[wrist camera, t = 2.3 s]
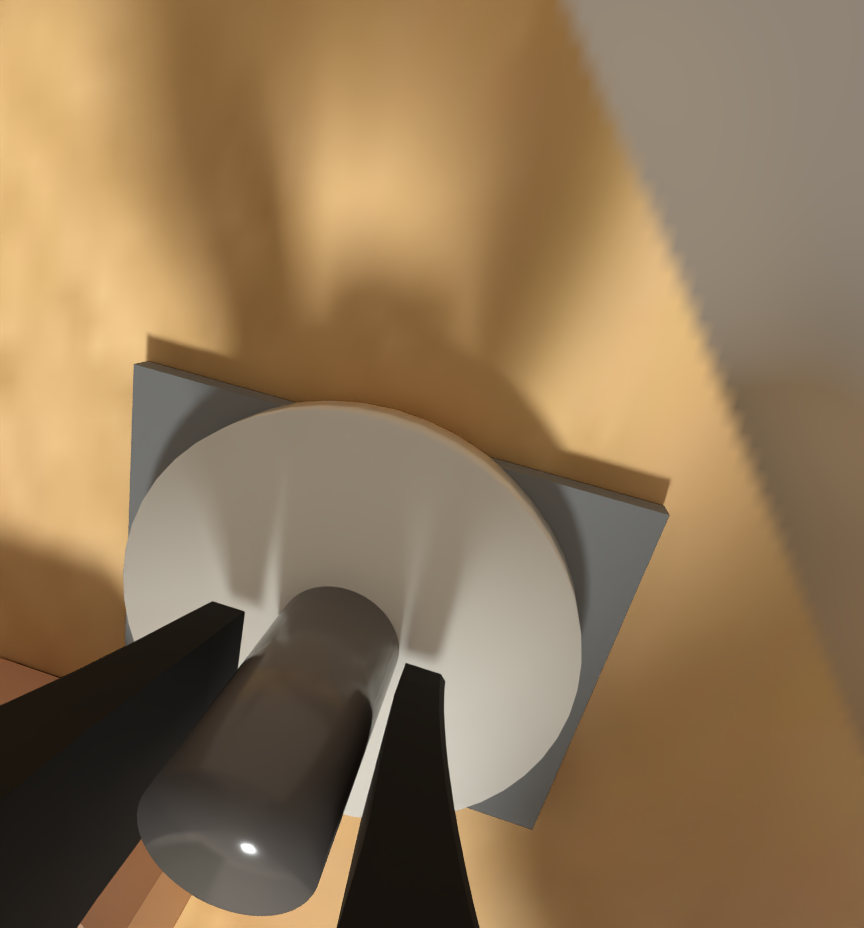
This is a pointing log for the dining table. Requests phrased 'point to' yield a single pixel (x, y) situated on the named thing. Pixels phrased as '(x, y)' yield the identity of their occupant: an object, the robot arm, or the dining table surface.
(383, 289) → the dining table surface
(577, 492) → the mat
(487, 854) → the dining table surface
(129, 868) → the bowl
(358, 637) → the lid
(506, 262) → the dining table surface
